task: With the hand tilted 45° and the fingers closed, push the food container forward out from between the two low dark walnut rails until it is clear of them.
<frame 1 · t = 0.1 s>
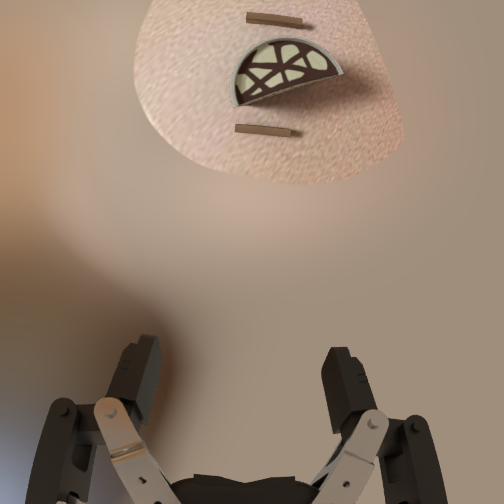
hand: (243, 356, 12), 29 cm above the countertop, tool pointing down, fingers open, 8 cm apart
food container: (271, 74, 30), on the countertop
slot rails: (267, 73, 30), on the countertop
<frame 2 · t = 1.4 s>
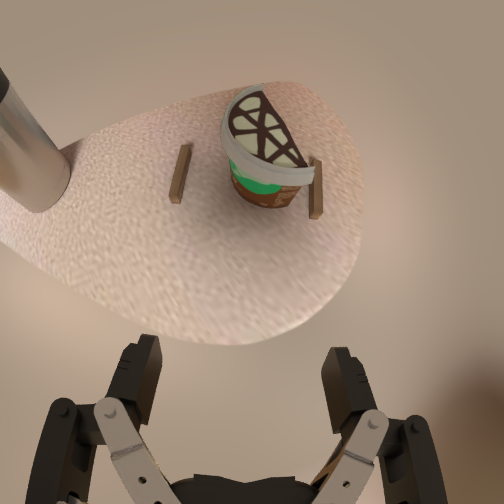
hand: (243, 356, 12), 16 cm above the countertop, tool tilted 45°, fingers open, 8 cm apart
food container: (248, 181, 32), on the countertop
slot rails: (247, 183, 32), on the countertop
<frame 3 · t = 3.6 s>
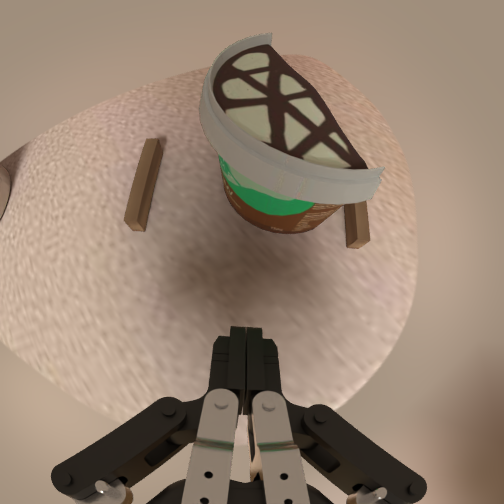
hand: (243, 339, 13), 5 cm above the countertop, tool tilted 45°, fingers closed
food container: (250, 190, 21), on the countertop
slot rails: (250, 195, 21), on the countertop
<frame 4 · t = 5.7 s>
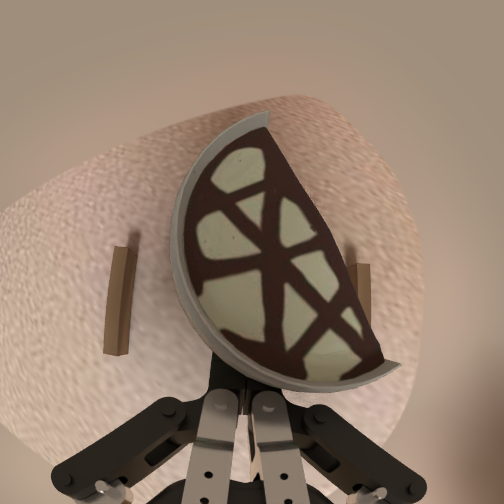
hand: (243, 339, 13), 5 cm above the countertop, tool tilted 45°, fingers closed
food container: (243, 295, 19), on the countertop, touching gripper
slot rails: (239, 314, 18), on the countertop
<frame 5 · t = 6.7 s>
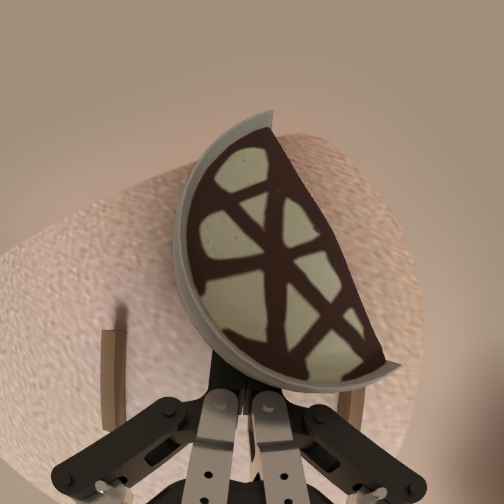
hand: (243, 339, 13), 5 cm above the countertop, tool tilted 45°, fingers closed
food container: (244, 294, 19), on the countertop, touching gripper
slot rails: (232, 394, 16), on the countertop
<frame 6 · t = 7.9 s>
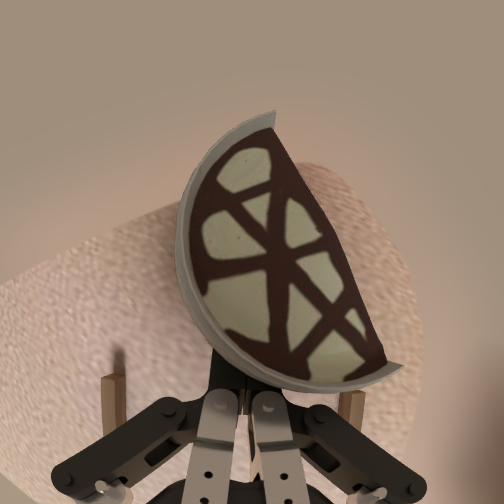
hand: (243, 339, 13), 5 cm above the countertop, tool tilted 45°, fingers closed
food container: (245, 295, 19), on the countertop, touching gripper
slot rails: (231, 435, 16), on the countertop
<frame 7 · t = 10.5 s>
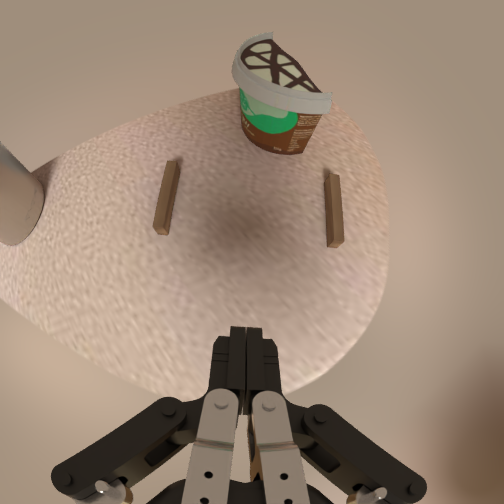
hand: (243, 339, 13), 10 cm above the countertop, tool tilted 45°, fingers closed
food container: (259, 130, 30), on the countertop
slot rails: (250, 206, 26), on the countertop
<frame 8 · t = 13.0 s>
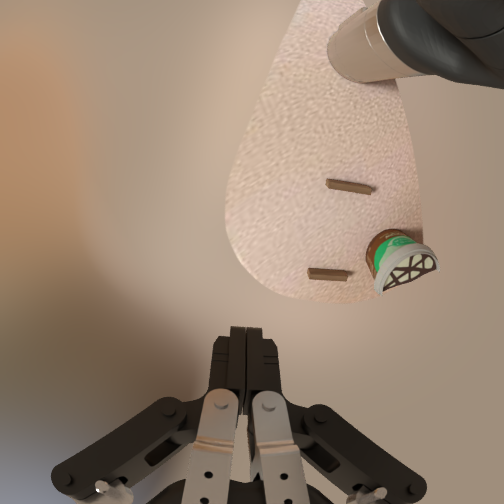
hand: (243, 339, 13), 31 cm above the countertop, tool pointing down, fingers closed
food container: (386, 238, 45), on the countertop
slot rails: (336, 231, 44), on the countertop
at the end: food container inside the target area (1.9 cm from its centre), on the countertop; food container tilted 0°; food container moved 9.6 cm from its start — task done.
